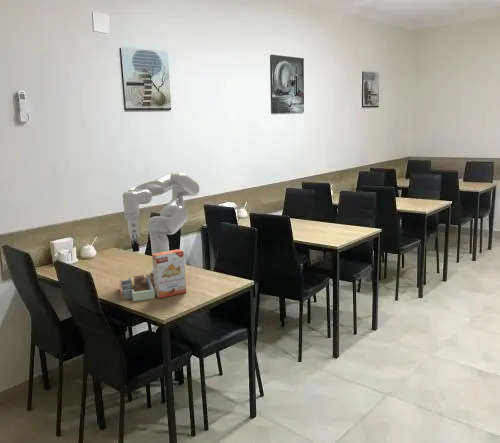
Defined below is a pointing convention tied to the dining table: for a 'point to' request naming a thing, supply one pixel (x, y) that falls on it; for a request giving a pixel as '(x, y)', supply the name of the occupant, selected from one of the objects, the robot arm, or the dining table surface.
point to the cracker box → (169, 273)
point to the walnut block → (139, 281)
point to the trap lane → (129, 293)
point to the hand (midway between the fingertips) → (135, 249)
